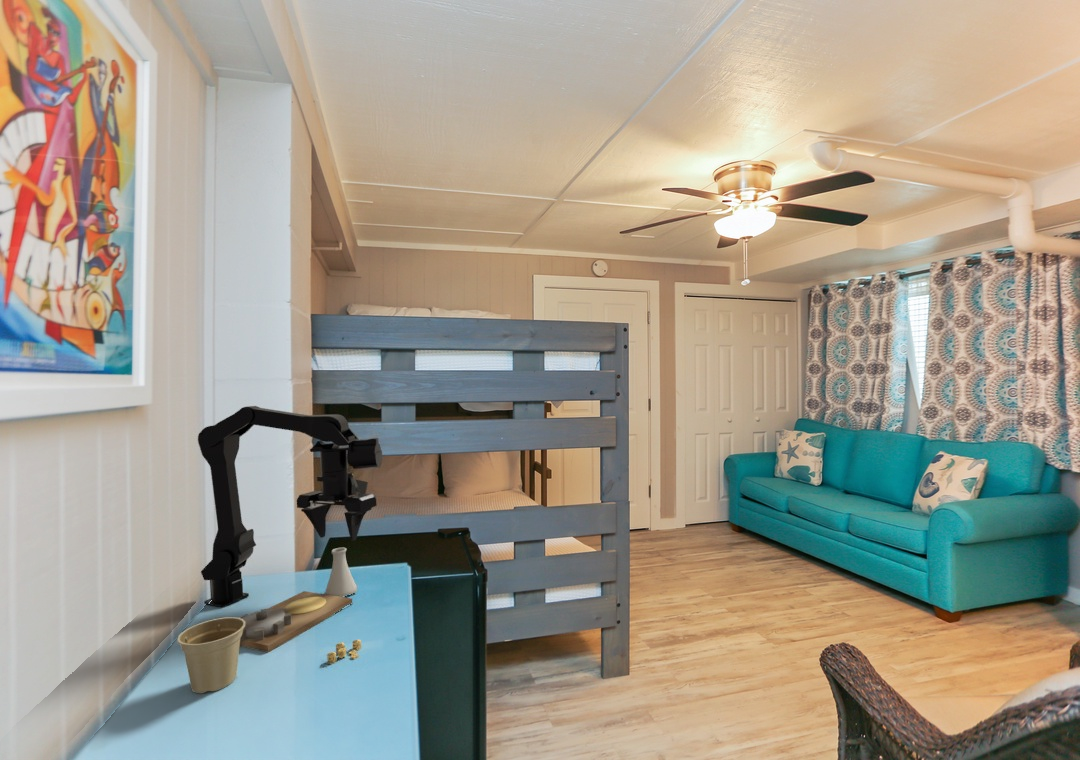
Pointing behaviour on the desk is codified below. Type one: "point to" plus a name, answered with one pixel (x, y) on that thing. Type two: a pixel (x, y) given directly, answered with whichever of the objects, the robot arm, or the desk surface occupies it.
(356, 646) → the dice set
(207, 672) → the flower pot
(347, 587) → the flask
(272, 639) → the gear board
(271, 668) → the desk surface
